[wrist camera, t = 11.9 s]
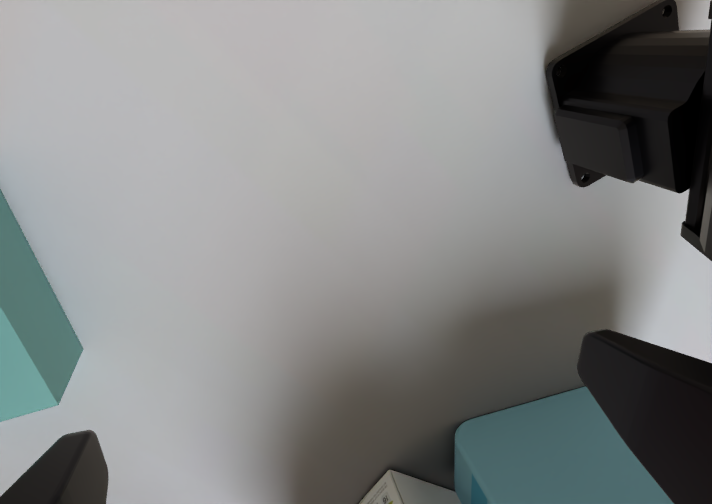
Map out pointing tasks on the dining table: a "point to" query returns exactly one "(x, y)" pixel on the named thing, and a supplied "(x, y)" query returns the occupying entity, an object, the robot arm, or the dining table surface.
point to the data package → (549, 457)
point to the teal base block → (30, 329)
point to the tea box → (408, 491)
